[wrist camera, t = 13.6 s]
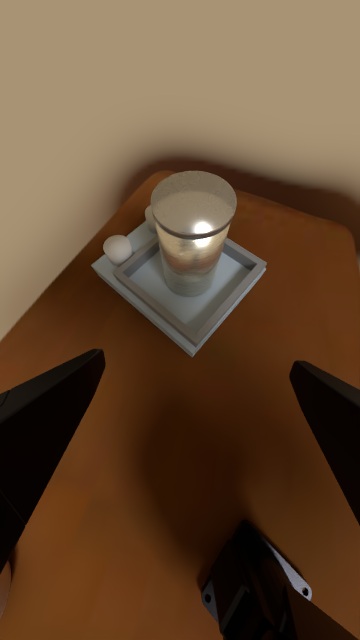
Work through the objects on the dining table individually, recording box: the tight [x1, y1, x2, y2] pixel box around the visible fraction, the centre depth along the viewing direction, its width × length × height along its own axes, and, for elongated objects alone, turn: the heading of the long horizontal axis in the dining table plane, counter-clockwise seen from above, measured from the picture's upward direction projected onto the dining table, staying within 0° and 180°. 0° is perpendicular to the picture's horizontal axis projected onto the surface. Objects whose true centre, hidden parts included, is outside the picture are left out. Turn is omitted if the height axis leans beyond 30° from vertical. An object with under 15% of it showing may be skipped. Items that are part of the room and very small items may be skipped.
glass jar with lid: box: [151, 171, 237, 297], centre depth 18 cm, size 8×6×10 cm
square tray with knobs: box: [91, 205, 267, 357], centre depth 23 cm, size 17×14×4 cm
